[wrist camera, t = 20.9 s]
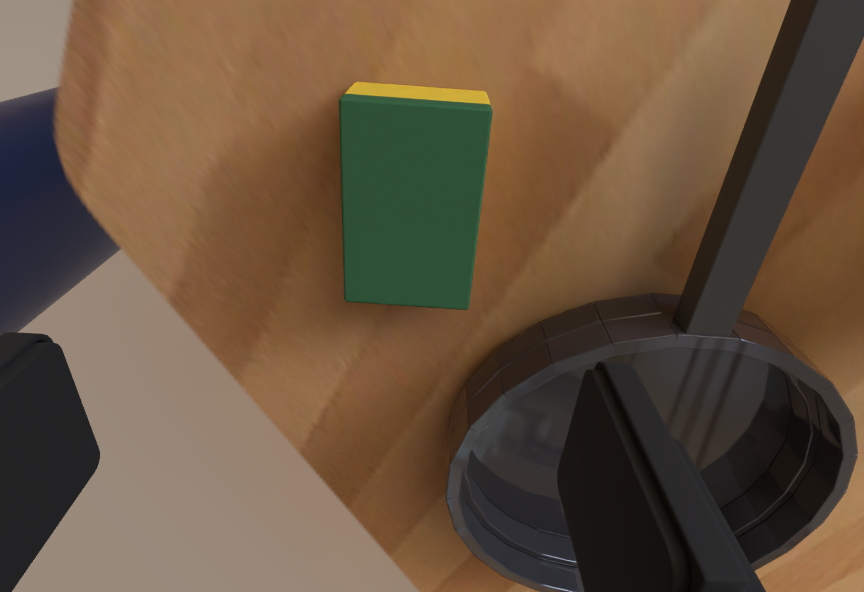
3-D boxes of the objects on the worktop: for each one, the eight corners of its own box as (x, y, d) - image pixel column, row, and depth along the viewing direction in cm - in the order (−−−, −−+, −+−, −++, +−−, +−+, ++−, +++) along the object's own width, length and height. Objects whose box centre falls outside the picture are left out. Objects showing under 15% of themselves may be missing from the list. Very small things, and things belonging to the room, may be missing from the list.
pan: (435, 530, 30) (434, 591, 27) (464, 272, 21) (467, 319, 18) (727, 550, 30) (758, 612, 27) (878, 301, 21) (948, 353, 18)
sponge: (356, 264, 21) (343, 302, 19) (354, 81, 17) (338, 97, 15) (466, 271, 21) (468, 311, 19) (486, 90, 18) (493, 109, 15)
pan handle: (671, 319, 19) (683, 338, 18) (798, -22, 14) (825, -23, 13) (713, 322, 19) (728, 340, 18) (856, -18, 14) (889, -18, 13)
